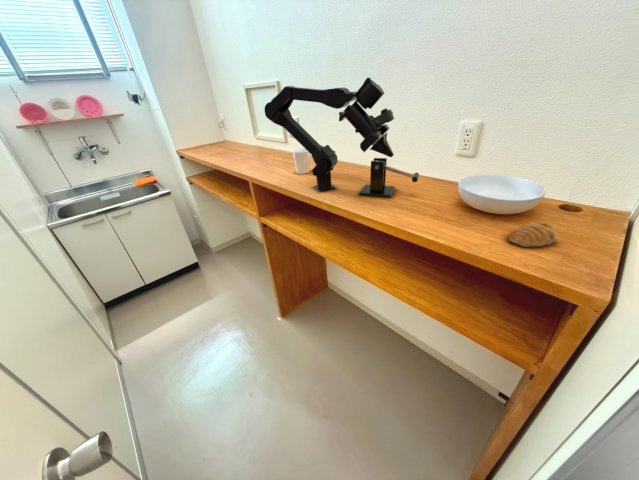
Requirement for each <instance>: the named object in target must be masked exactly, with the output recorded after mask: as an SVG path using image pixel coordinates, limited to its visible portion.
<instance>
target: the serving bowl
mask: <svg viewBox="0 0 639 480" xmlns="http://www.w3.org/2000/svg"><path fill="white" fill-rule="evenodd" d="M457 187H458V188H457V190H458V191H457V192H458V195H459V197H460V199H461V200H462V201H463V202H464V203H465V204H466V205H468V206H469V207H471V208H473V209H475V210H479V211H481V212H484V213H489V214H496V215H514V214H515V215H516V214H520V213H524V212H527V211H529V210H532V209H533V208H534V207H536V206H537V205H538V204H539V203H541V202H542V200H543V199H544V197H545V195H546V194H547V193H546V192H547V191H546V188H545V187H543V186H542V185H541V184H540V183H537V182H535V181H532V180H530V179H526V178H523V177H519V176H515V175H514V176H513V175H507V174H497V173H495V174H494V173H479V174H471V175H467V176H464V177H462V178H460V179H459V180H458V184H457Z"/></svg>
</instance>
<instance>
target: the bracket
mask: <svg viewBox="0 0 639 480" xmlns="http://www.w3.org/2000/svg"><path fill="white" fill-rule="evenodd" d="M376 160H379V161H376ZM387 160H388V158H387V157H374V158H373V160H370V174H369V175H370V176H369V177H370V178H369V184H367V183H366V184H364V186H363V187H362V188H361V190H359V193H358V195H359V197H369V198H370V197H371V198H383V199H391V198H392V196H393V194H394V193H395V192H394V191H395V190H396V186H394V185H386V179H387V170H386V169H384V165H386V166H387V162H388V161H387Z"/></svg>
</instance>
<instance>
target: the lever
mask: <svg viewBox="0 0 639 480" xmlns="http://www.w3.org/2000/svg"><path fill="white" fill-rule="evenodd" d="M376 161H379V160H376ZM384 169H386V171H389V172H392V173H395V174H398V175H402V176H404V177H407V178H410V179H411V181H412V182H413V183H417V182H418V181H419V177H420V173H419V172H414V173H410V172H407V171H405V170H401V169H398V168H395V167H392V166H389V165H387V164H386V165H384Z"/></svg>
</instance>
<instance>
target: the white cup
mask: <svg viewBox="0 0 639 480" xmlns="http://www.w3.org/2000/svg"><path fill="white" fill-rule="evenodd" d="M310 155H311V154H310V153H309V152H308V151H307V150H306V149H305V148H298V149H293V150H292V156H293V163H294V168H295V173H296V174H299V175H304V174H308V173H310V172H311V156H310Z"/></svg>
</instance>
